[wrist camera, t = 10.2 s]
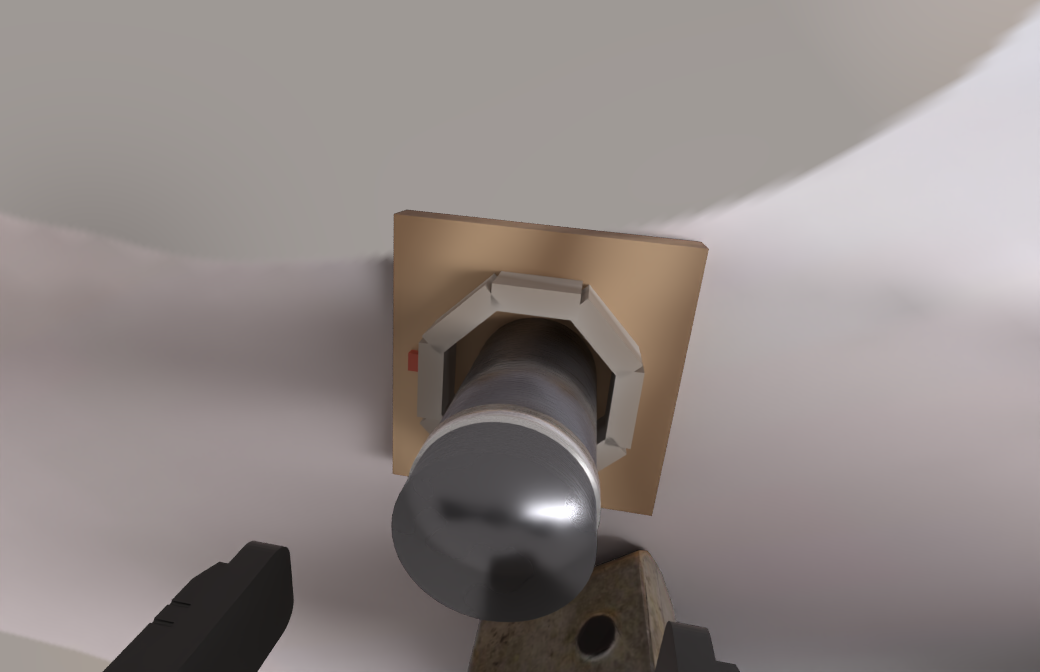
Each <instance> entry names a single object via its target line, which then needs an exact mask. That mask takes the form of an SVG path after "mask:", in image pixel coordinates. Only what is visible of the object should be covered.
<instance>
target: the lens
mask: <svg viewBox="0 0 1040 672" xmlns="http://www.w3.org/2000/svg"><path fill="white" fill-rule="evenodd" d="M600 512H601V501H600V480H599V476H598V472H597V375H596V366H595V361H594V358H593V356H592V353H591V351H590V349H589V348H588V346H587V345H586V343H585V342H584V341H583V339H582V338H581V337H580V336H579V335H578V334H576V333H575V332H574V331H573V330H571V329H570V328H568V327H567V326H565V325H563V324H561V323H559V322H556V321H553V320H549V319H544V318H524V319H518V320H515V321H512V322H510V323H508V324H506V325H504V326H502V327H501V328H499V329H497V330H496V331H495V332H494V333H493V334H492V335H491V336H490V337H489V338H488V339H487V341H486V342H485V344H484V346H483V347H482V349H481V351H480V353H479V354H478V356H477V358H476V360H475V361H474V363H473V365H472V367H471V368H470V370H469V372H468V374H467V376H466V377H465V379H464V381H463V383H462V384H461V386H460V388H459V390H458V391H457V393H456V395H455V397H454V399H453V400H452V402H451V404H450V406H449V407H448V409H447V411H446V413H445V414H444V416H443V418H442V420H441V422H440V423H439V425H438V426H437V427H436V428H435V429H434V430H433V431H432V433H431V434H430V435H429V436H428V438H427V440H426V441H425V443H424V444H423V446H422V448H421V449H420V451H419V453H418V455H417V456H416V458H415V460H414V462H413V464H412V467H411V469H410V472H409V476H408V480H407V482H406V483H405V485H404V487H403V489H402V491H401V492H400V494H399V496H398V499H397V501H396V503H395V506H394V510H393V514H392V525H391V526H392V537H393V542H394V546H395V549H396V552H397V555H398V557H399V559H400V561H401V563H402V565H403V567H404V568H405V570H406V571H407V573H408V574H409V575H410V577H411V578H412V579H413V580H414V581H415V583H416V584H417V585H418V586H419V587H420V588H421V589H422V590H424V591H425V592H426V593H427V594H428V595H430V596H431V597H432V598H434V599H435V600H436V601H438V602H440V603H441V604H443V605H445V606H446V607H448V608H450V609H452V610H455V611H457V612H459V613H461V614H464V615H467V616H470V617H474V618H478V619H482V620H487V621H495V622H521V621H527V620H533V619H537V618H540V617H543V616H546V615H549V614H551V613H553V612H555V611H557V610H559V609H561V608H562V607H564V606H566V605H567V604H568V603H569V602H571V601H572V600H573V599H574V598H575V597H576V596H577V595H578V594H579V593H580V592H581V591H582V590H583V588H584V587H585V585H586V584H587V582H588V581H589V578H590V576H591V574H592V572H593V569H594V565H595V561H596V552H597V530H598V526H599V522H600Z"/></svg>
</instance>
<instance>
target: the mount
mask: <svg viewBox="0 0 1040 672" xmlns="http://www.w3.org/2000/svg"><path fill="white" fill-rule="evenodd" d="M708 250H709V249H708V248H707V247H706V246H705V245H704V244H703V243H702V242H696V241H687V240H678V239H669V238H660V237H651V236H642V235H632V234H623V233H614V232H605V231H596V230H587V229H577V228H569V227H560V226H550V225H541V224H531V223H523V222H514V221H505V220H496V219H487V218H478V217H468V216H458V215H450V214H441V213H432V212H423V211H414V210H405V211H401V212H398V213H395V214H394V285H393V474H397V475H403V476H409V472H410V469H411V467H412V464H413V462H414V460H415V458H416V456H417V455H418V453H419V451H420V449H421V448H422V446H423V444H424V443H425V441H426V440H427V438H428V436H429V435H430V434H431V433H432V431H433V430H434V429H435V428H436V427H437V426H438V425H439V423H440V422H441V420H442V418H443V416H444V414H445V413H446V411H447V409H448V407H449V406H450V404H451V402H452V400H453V399H454V397H455V395H456V393H457V391H458V390H459V388H460V386H461V384H462V383H463V381H464V379H465V377H466V376H467V374H468V372H469V370H470V368H471V367H472V365H473V363H474V361H475V360H476V358H477V356H478V354H479V353H480V351H481V349H482V347H483V346H484V344H485V342H486V341H487V339H488V338H489V337H490V336H491V335H492V334H493V333H494V332H495V331H496V330H497V329H499V328H501V327H502V326H504V325H506V324H508V323H510V322H512V321H515V320H518V319H524V318H544V319H549V320H553V321H556V322H559V323H561V324H563V325H565V326H567V327H568V328H570V329H571V330H573V331H574V332H575V333H576V334H578V335H579V336H580V337H581V338H582V339H583V341H584V342H585V343H586V345H587V346H588V348H589V349H590V351H591V353H592V356H593V358H594V361H595V366H596V375H597V472H598V476H599V480H600V501H601V508H606V509H612V510H618V511H625V512H631V513H637V514H643V515H649V516H652V513H653V508H654V503H655V499H656V494H657V489H658V485H659V480H660V475H661V471H662V466H663V461H664V457H665V452H666V447H667V442H668V438H669V433H670V428H671V424H672V419H673V414H674V410H675V405H676V400H677V396H678V391H679V386H680V382H681V377H682V372H683V367H684V363H685V358H686V353H687V349H688V344H689V339H690V335H691V330H692V325H693V321H694V316H695V311H696V307H697V302H698V297H699V292H700V288H701V283H702V278H703V274H704V269H705V264H706V260H707V255H708Z"/></svg>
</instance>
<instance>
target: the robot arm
mask: <svg viewBox="0 0 1040 672" xmlns="http://www.w3.org/2000/svg"><path fill="white" fill-rule="evenodd" d="M293 602H294V599H293V586H292V573H291V561H290V552H289V549H288V548H287V547H283V546H278V545H273V544H268V543H262V542H257V541H251V542H249V543H247V544H246V545H245V546H244V547H243V548H242V549H241V550H240V551H239V552H238V554H237V555H236V556H235V557H234V558H233V559H232V560H231V561H230V562H229V563H228V564H227V563H222V562H218V563H217V564H215V565H214V566H212V567H210V568H209V569H207V570H206V571H204V572H202V573H201V574H199V575H198V576H196V577H194V578H193V579H192V580H191V581H190V582H189V583H188V584H187V585H186V586H185V587H184V588H183V589H182V590H181V591H180V592H179V593H178V594H177V595H176V596H175V597H174V598H173V599H172V602H171V604H170V605H167V606H166V607H165V608H164V609H163V610H162V611H161V612H160V613H159V614H158V615H157V616H156V617H155V618H154V621H153V623H149V624H148V625H147V626H146V627H145V628H144V630H143V631H142V632H141V633H140V634H139V635H138V636H137V637H136V638H135V639H134V640H133V641H132V642H131V643H130V644H129V645H128V646H127V647H126V648H125V649H124V650H123V651H122V652H121V653H120V654H119V655H118V656H117V658H116V659H115V660H114V661H113V662H112V663H111V664H110V665H109V666H108V667H107V668H106V669H105V670H104V671H103V672H257V671H258V670H259V668H260V667H261V665H262V664H263V662H264V661H265V659H266V658H267V656H268V655H269V653H270V652H271V650H272V649H273V647H274V646H275V644H276V643H277V641H278V640H279V638H280V637H281V635H282V634H283V632H284V631H285V629H286V627H287V625H288V622H289V620H290V617H291V614H292V609H293ZM655 672H740V671H739V669H738V668H737V666H736V665H735V664H730V663H725V662H720V661H716V660H715V655H714V651H713V646H712V641H711V637H710V633H709V631H708V629H707V628H704V627H698V626H693V625H688V624H683V623H677V622H672V621H668V622H667V624H666V627H665V630H664V635H663V639H662V643H661V647H660V651H659V655H658V659H657V664H656V668H655Z"/></svg>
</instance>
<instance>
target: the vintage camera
mask: <svg viewBox="0 0 1040 672" xmlns="http://www.w3.org/2000/svg"><path fill="white" fill-rule="evenodd" d="M668 621H672V622H676V618H675V612H674V609H673V606H672V603H671V600H670V597H669V594H668V591H667V588H666V585H665V582H664V579H663V576H662V573H661V572H660V570H659V568H658V566H657V564H656V562H655V561H654V559H653V558H652V557H651V555H650V554H649V553H648V551H643V550H638V551H635V552H633V553H630V554H628V555H625V556H622V557H620V558H617V559H614V560H612V561H609V562H606V563H604V564H601V565H598V566H595V567H594V569H593V572H592V574H591V576H590V578H589V581H588V582H587V584H586V585H585V587H584V588H583V590H582V591H581V592H580V593H579V594H578V595H577V596H576V597H575V598H574V599H573V600H572V601H571V602H569V603H568V604H567V605H566V606H564V607H562V608H561V609H559V610H557V611H555V612H553V613H551V614H549V615H546V616H543V617H540V618H537V619H533V620H527V621H521V622H495V621H487V620H482V619H480V623H479V627H478V630H477V634H476V638H475V643H474V647H473V651H472V655H471V659H470V663H469V668H468V672H655V668H656V664H657V659H658V655H659V651H660V647H661V643H662V639H663V635H664V630H665V627H666V624H667V622H668Z"/></svg>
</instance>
